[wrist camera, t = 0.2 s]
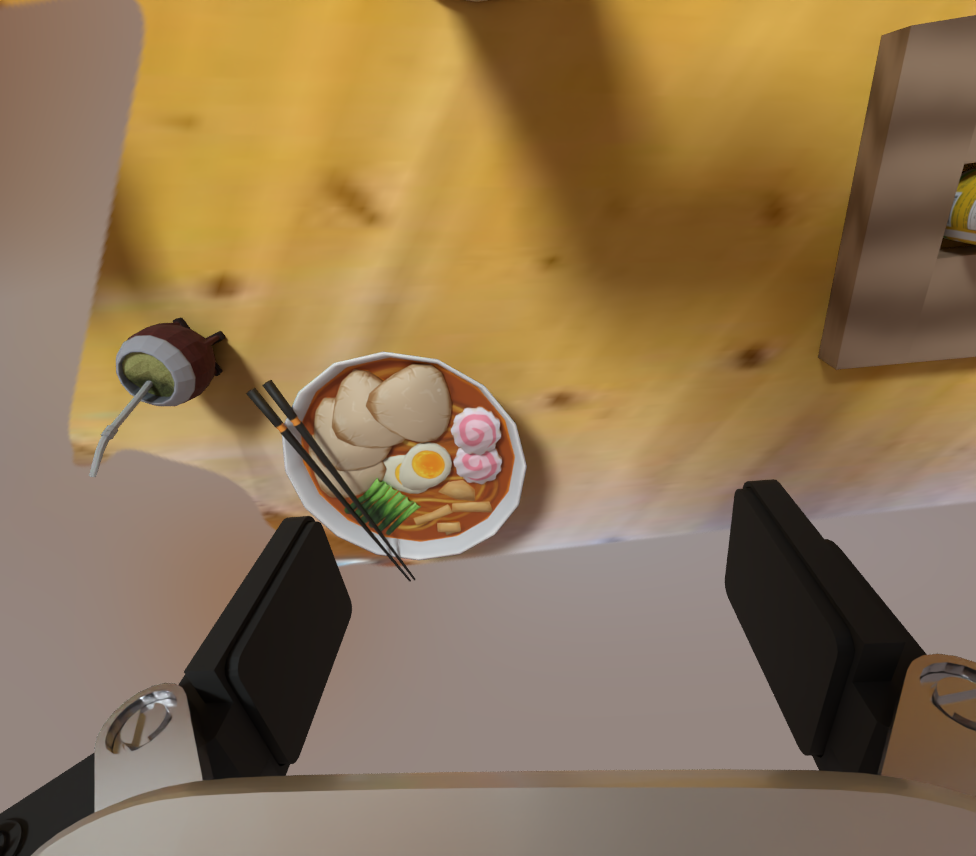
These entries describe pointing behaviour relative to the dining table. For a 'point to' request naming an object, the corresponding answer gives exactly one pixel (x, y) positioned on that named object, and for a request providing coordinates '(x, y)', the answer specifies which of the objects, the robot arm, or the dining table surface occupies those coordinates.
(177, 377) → the mate gourd
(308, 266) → the dining table surface
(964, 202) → the supplement bottle
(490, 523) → the ramen bowl
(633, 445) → the dining table surface
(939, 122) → the pocket board
